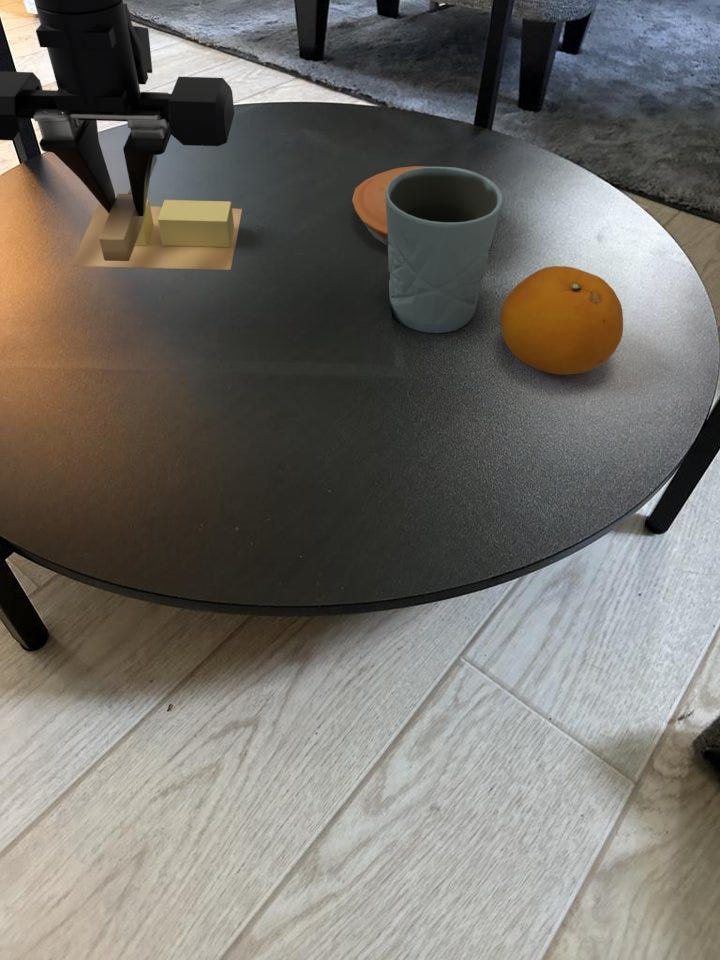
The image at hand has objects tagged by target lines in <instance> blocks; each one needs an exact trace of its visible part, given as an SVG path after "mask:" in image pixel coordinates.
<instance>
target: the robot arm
mask: <svg viewBox="0 0 720 960" xmlns="http://www.w3.org/2000/svg"><path fill="white" fill-rule="evenodd" d="M34 4H35V8H36V12H37V16H38V20H39V23H40V24H39V26H38V27H37V28H36V29H35V33H36V37H37V40H38V44H39V48H46V49H47V54H48V57H49V61H50V64H51V68H52V71H53V75H54V79H55V83H56V86H57V89H56V90H55V89H54V90H53V89H43V86H42V82H41V80H40V79H39V77H38V76H37V75H36V74H35V73H34V72H32V71H29V72H28V71H6V70H5V71H3V70H1V71H0V141H12V142H13V141H14V140H15V138H16V137H17V135H18V134H19V132H20V131H21V129H22V128H23V124H22V121H21V119H27V120H32V119H33V120H34V121H35V122H37V125H38V128H39V132H40V135H41V139H40V140H39V142H38V144H39V147H40V150H41V151H42V152H45V153H52V154H54V155H55V156H56V157H57V158H58V159H59V160H60V161H61V162H62V163H63V164H64V165H65V166H66V167H67V168H68V169H69V170H70V171H71V172H72V173H73V174H74V175H75V176H76V177H77V178H78V179H79V180H80V181H81V182H82V184H83V185H84V186H85V187H86V188H87V189H88V191H89V192H90V193H91V194H92V195H93V197H94V198H95V199H96V200H97V201H98V203H99V205H102V206H103V207H104V208H105V210H106V211H107V212H108V213H110V211H111V208H112V206H113V204H114V201H115V199H116V197H117V196H116V193H115V189H114V186H113V183H112V179H111V176H110V173H109V170H108V167H107V162H106V160H105V157H104V153H103V150H102V148H101V147H102V146H101V144H100V139H99V131H98V122H102V121H103V122H126V123H127V128H128V129H130V132H129V133H128V137H127V138H126V141H125V143H124V145H123V147H122V151H123V155H124V161H125V166H126V171H127V175H128V176H127V177H128V181H129V188H130V187H131V192H132V197H133V202H134V205H135V208H136V210H137V213H138V215H139V216H144V213H145V210H146V203H147V199H148V196H149V195H148V194H149V189H150V181H151V177H150V173H151V166H152V161H153V157H154V155H156V156H160V155H162V154H164V153H165V152H166V149H167V147H168V144H169V141H170V138H171V136H173V138H174V139H176V140H177V141H178V142H179V143H180V144H181V145H183V146H194V147H195V146H198V147H220V146H223V145H226V144H227V143H228V139H229V135H230V132H231V128H232V125H233V120H234V116H235V105H234V96H233V95H234V94H233V90H232V87H231V86H230V84H228V82H227V81H226V79H225V78H223V77H212V76H211V77H209V76H205V77H203V76H178V77H177V79H176V81H175V84H174V86H173V89H172V91H171V93H169V92H162V91H161V92H160V91H141V88H140V85H146V84H147V81H148V80H149V74H153V63H152V54H151V53H152V51H151V42H150V32H149V28H148V27H143V26H139V25H138V26H137V25H133V23H132V18H131V14H130V11H129V9H128V3H124V0H34Z"/></svg>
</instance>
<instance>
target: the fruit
mask: <svg viewBox="0 0 720 960" xmlns="http://www.w3.org/2000/svg"><path fill="white" fill-rule="evenodd" d="M623 313H624V312H623V307H622V304H621V301H620V300H619V298H618V295H617V293H616V292H615V291H614V289H613V287H611V286H610V284H608V282H606V281H605V280H604V278H602V277H600V276H597V275H596V274H594V273H590V272H588V271H584V270H582V269H579V268H576V267H573V266H566V265H559V266H558V265H554V266H547V267H543V268H541V269H539V270H536V271H535V272H533V273H532V274H530V275H529V276H526V278H524V279H523V280H522V281H521V282H519V283H517V285H516V286H515V287H514V288H513V289H512V290H511V291H510V292H509V294H508V295H507V296H506V298H505V300H504V302H503V304H502V307H501V312H500V327H501V333H502V336H503V340H504V342H505V344H506V346H507V347H508V349H509V351H510V352H511V353H512V354H513V355H514V356H515V357H516V359H518V360H519V361H521V362H523V363H524V364H526V365H527V366H529V367H532V368H533V369H536V370H538V371H541V372H543V373H544V372H545V373H549V374H552V375H560V376H561V375H563V376H564V375H577V374H578V375H579V374H582V373H586V372H588V371H592V370H593V369H596V368H598V367H599V366H602V364H604V362H607V360H609V359H610V358H611V357H612V356H613V355H614V353H615V352H616V350H617V348H618V347H619V344H620V342H621V340H622V338H623V332H624V315H623Z"/></svg>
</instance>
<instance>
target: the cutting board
mask: <svg viewBox="0 0 720 960" xmlns="http://www.w3.org/2000/svg"><path fill="white" fill-rule="evenodd" d="M150 208H151V213H152V218H153V223H154V226H153V229H152V232H151V235H150V238H149V241H148V244H147V245H135V246H134V249H133V252H132V254H131V257H130V260H129V261H105V260H104V257H103V253H102V250H101V246H100V242H99V237H100V234H101V232H102V229H103V227H104V225H105V222H106V220H107V218H108V215H109V213H108V212H107V211H106V210H105V208H104V207H103V206H102V205H101V204H97V206H96V208H95V211H94V213H93V215H92V217H91V219H90V221H89V224H88V226H87V228H86V231H85V233H84V235H83V238H82V240H81V242H80V244H79V247H78V248H77V251H76V254H75V256H74V258H73V260H72V262H71V265H70V267H85V268H86V267H88V268H89V267H91V268H126V269H127V268H131V269H134V268H135V269H171V270H172V269H173V270H175V269H177V270H211V271H213V270H215V271H217V270H218V271H231V270H232V266H233V261H234V255H235V251H236V245H237V239H238V234H239V230H240V224H241V220H242V214H243V208H234V207H232V212H233V222H234V230H233V235H232V240H231V245H230V247H197V246H163V244H162V238H161V233H160V228H159V223H158V218H159V215H160V212H161V209H162V206H155V205H153V206H152V205H150Z"/></svg>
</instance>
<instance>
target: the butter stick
mask: <svg viewBox="0 0 720 960" xmlns="http://www.w3.org/2000/svg"><path fill="white" fill-rule="evenodd" d="M161 207H162V209H161V212H160V215H159V218H158V223H159V228H160V233H161V238H162V244H163V246H197V247H230V245H231V240H232V235H233V230H234V222H233V212H232V208H233V204H232V201H226V200H225V201H222V200H221V201H220V200H187V199H186V200H185V199H184V200H183V199H182V200H181V199H164V200H163V203H162V206H161Z"/></svg>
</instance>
